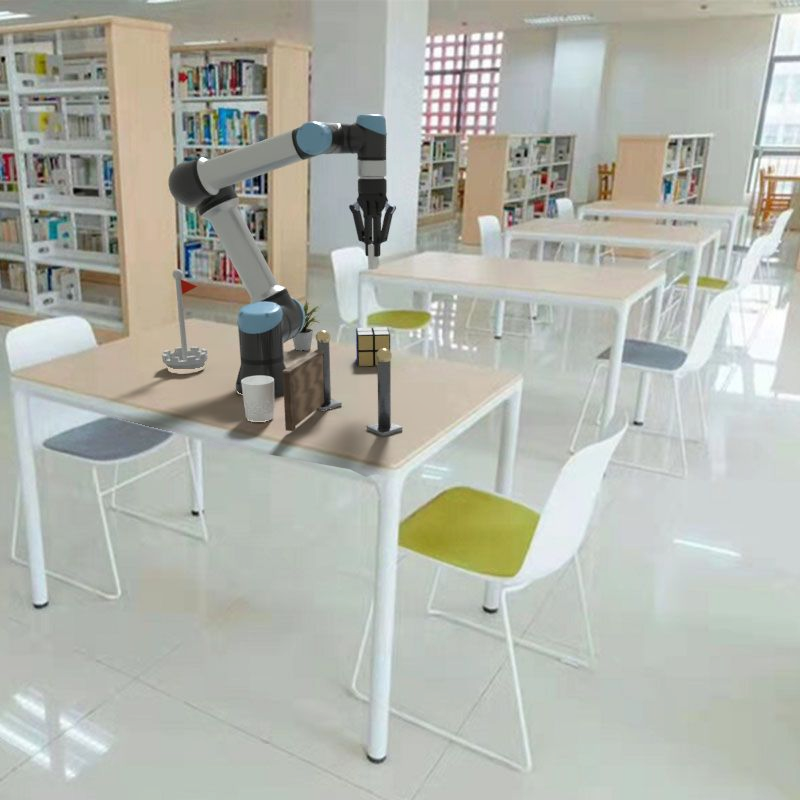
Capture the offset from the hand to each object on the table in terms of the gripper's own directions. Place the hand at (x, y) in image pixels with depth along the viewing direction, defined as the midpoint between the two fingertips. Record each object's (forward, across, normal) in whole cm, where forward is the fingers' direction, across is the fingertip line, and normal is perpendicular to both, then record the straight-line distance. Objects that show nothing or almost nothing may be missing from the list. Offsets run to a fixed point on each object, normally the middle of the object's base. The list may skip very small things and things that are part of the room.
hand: (373, 268), depth 207 cm
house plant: (+33, +37, -24) cm, 55 cm away
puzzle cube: (+33, +10, -20) cm, 40 cm away
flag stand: (+33, +58, +10) cm, 67 cm away
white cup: (+33, +13, +38) cm, 52 cm away
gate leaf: (+31, +2, +35) cm, 47 cm away
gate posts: (+32, -8, +28) cm, 44 cm away
